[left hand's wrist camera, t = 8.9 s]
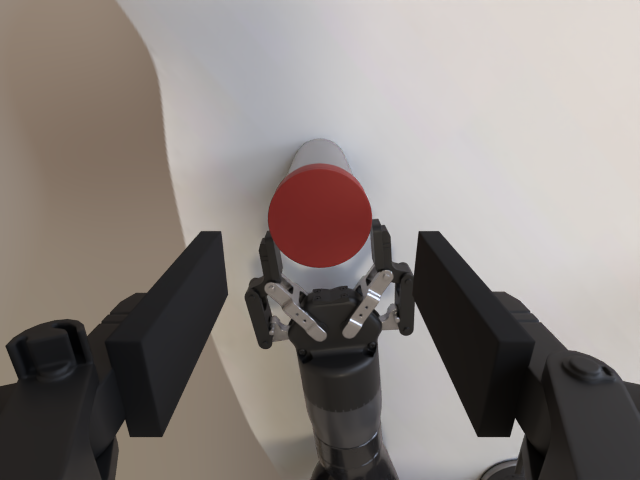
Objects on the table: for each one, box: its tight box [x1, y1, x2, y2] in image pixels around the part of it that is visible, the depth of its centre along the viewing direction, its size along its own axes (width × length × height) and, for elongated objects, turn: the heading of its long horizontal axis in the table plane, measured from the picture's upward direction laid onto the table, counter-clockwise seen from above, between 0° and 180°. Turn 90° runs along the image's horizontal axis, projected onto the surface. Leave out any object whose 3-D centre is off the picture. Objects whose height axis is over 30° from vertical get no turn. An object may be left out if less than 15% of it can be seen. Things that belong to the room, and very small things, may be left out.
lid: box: [268, 163, 372, 268], centre depth 19 cm, size 5×5×2 cm
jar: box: [287, 139, 353, 175], centre depth 26 cm, size 5×5×15 cm
